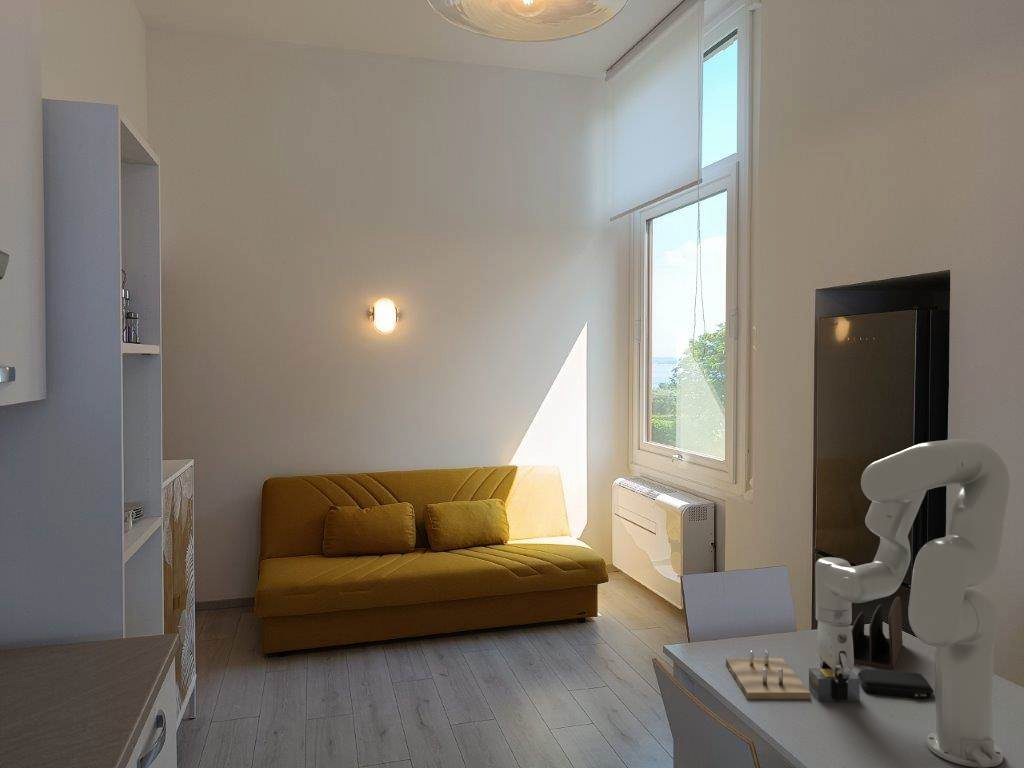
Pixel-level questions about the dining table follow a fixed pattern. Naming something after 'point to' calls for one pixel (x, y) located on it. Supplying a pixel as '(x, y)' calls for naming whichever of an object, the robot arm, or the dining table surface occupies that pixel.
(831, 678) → the block
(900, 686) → the carrying case or bag
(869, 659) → the letter holder
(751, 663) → the tray
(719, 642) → the dining table surface
